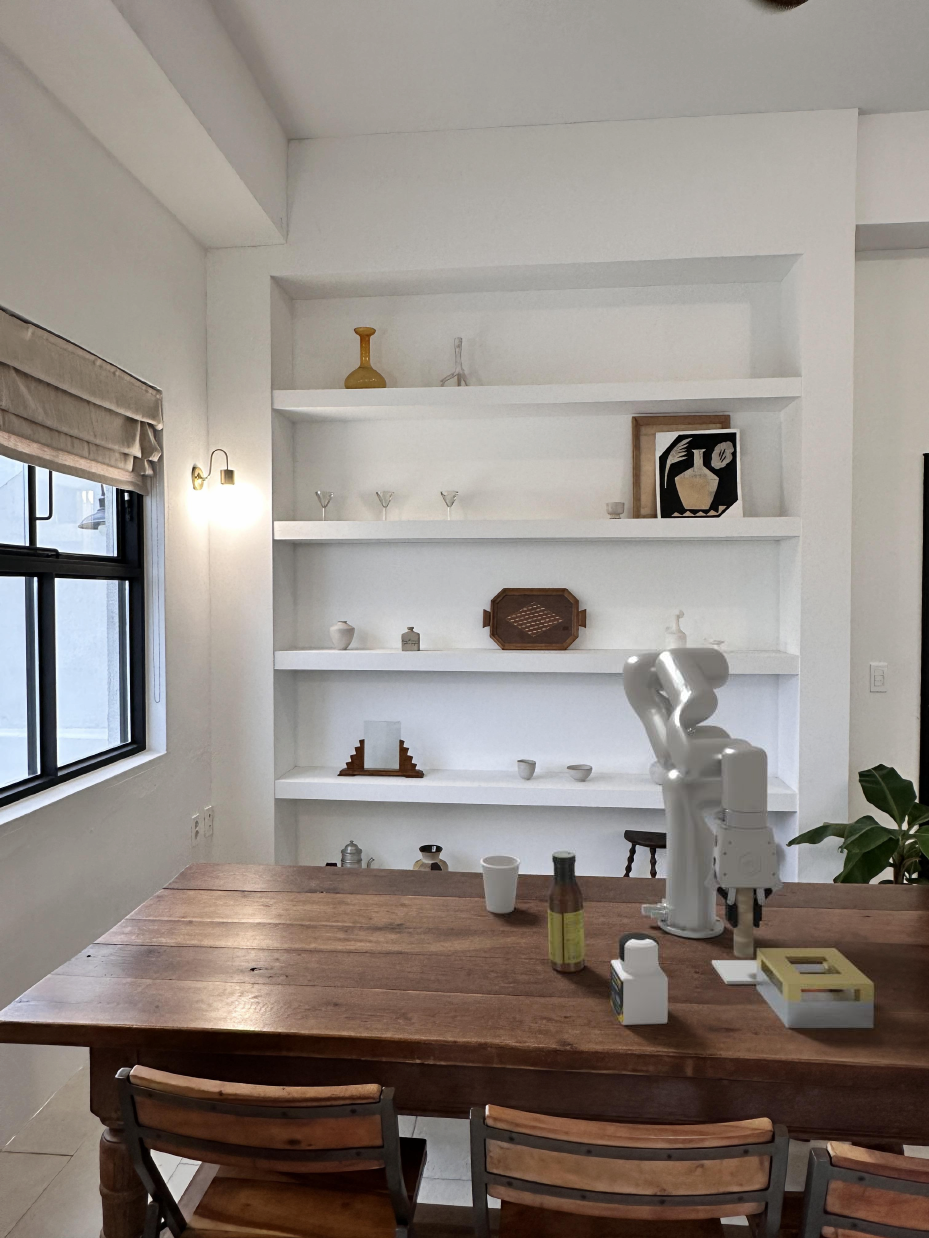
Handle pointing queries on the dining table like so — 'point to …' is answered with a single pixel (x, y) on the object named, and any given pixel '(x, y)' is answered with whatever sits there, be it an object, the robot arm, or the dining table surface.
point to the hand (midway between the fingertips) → (743, 924)
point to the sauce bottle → (565, 916)
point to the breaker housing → (798, 1009)
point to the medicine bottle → (639, 982)
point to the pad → (737, 971)
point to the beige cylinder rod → (744, 923)
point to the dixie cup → (500, 882)
